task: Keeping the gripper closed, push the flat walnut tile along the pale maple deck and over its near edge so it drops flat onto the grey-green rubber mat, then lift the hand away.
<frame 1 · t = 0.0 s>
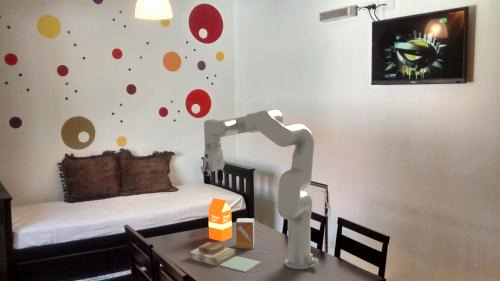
hand: (214, 181, 222), 31 cm above the table, tool pointing down, fingers open, 9 cm apart
tile: (211, 250, 211), point 3 cm above the table, touching deck
deck: (212, 257, 211), on the table
orange juice: (220, 238, 238), on the table
small box: (245, 246, 224), on the table
mat: (240, 264, 203), on the table
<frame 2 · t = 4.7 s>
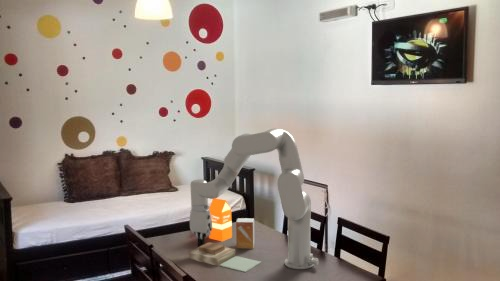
hand: (201, 246, 214), 4 cm above the table, tool pointing down, fingers closed
tile: (211, 250, 211), point 3 cm above the table, touching deck, gripper
everything else where it was.
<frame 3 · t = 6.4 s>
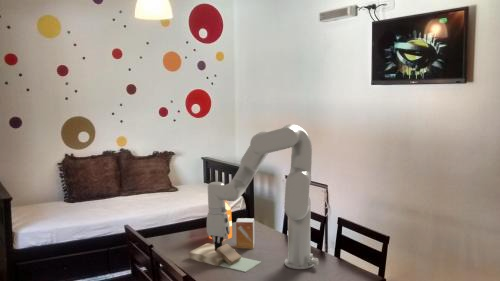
hand: (218, 250, 209), 4 cm above the table, tool pointing down, fingers closed
tile: (227, 255, 206), point 3 cm above the table, tilted 31°, touching gripper
everything else where it was.
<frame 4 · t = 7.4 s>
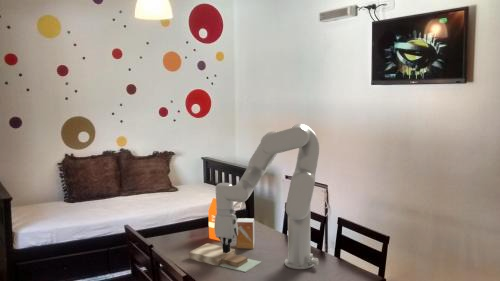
hand: (226, 252, 207), 4 cm above the table, tool pointing down, fingers closed
tile: (234, 262, 204), resting on mat
everything else where it was.
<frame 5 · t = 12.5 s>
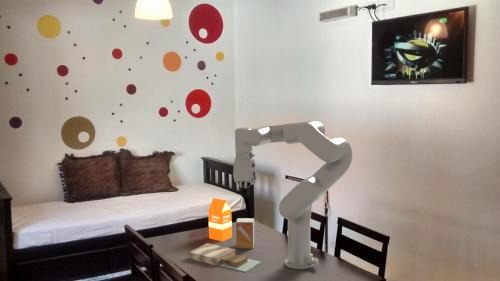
hand: (245, 196, 211), 27 cm above the table, tool pointing down, fingers closed
nothing on the table moved.
at the end: tile resting on mat; tile inside the target area on the mat (2.8 cm from its centre), point 0.4 cm above the mat's base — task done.
